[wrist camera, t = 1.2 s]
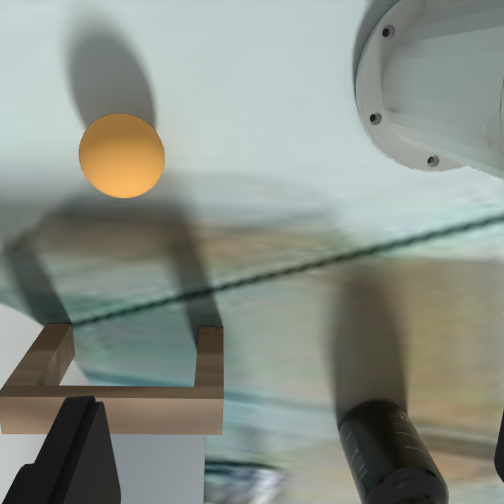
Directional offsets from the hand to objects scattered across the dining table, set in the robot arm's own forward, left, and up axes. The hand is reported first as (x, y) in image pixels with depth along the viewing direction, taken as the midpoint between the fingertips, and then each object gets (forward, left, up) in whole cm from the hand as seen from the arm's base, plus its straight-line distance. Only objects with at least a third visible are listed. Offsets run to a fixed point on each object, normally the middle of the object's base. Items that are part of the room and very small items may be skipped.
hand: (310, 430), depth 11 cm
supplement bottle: (+23, +13, -26) cm, 37 cm away
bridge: (+14, -9, -26) cm, 31 cm away
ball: (-2, -9, -23) cm, 25 cm away
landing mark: (+28, -9, -26) cm, 39 cm away
